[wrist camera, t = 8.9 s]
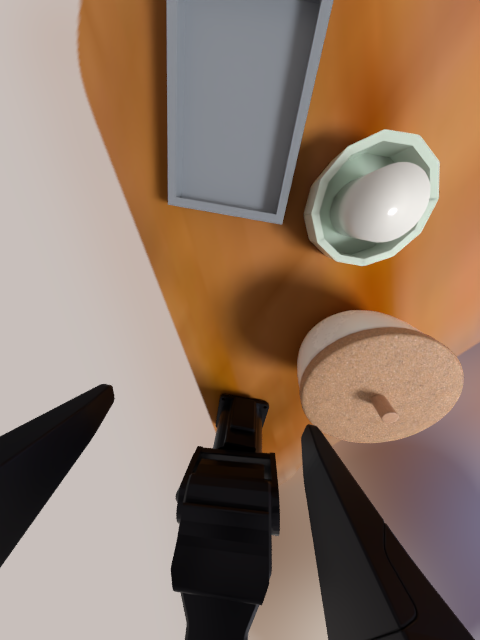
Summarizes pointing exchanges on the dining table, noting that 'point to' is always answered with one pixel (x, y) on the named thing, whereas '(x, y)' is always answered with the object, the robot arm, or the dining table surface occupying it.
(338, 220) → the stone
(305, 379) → the lidded jar
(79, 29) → the dining table surface
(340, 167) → the bowl
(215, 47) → the parts tray
